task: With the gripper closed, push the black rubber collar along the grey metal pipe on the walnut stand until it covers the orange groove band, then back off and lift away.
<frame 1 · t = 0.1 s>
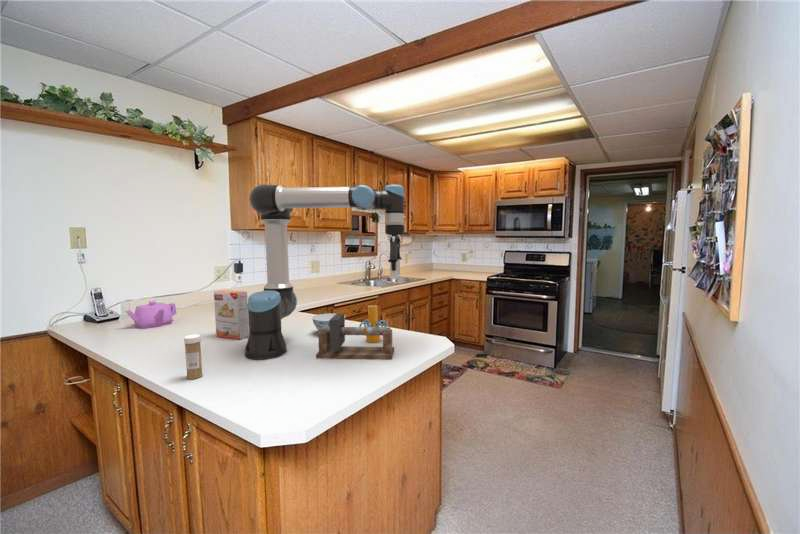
hand: (395, 277, 146), 28 cm above the worktop, tool pointing down, fingers open, 13 cm apart
collar: (337, 330, 136), point 9 cm above the worktop, slide at 0.0 cm
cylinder: (373, 341, 154), on the worktop
pipe stand: (356, 354, 137), on the worktop
teakettle: (153, 325, 185), on the worktop
cracker box: (232, 337, 162), on the worktop
chinaware: (329, 333, 167), on the worktop
sprinkles bottle: (194, 377, 116), on the worktop
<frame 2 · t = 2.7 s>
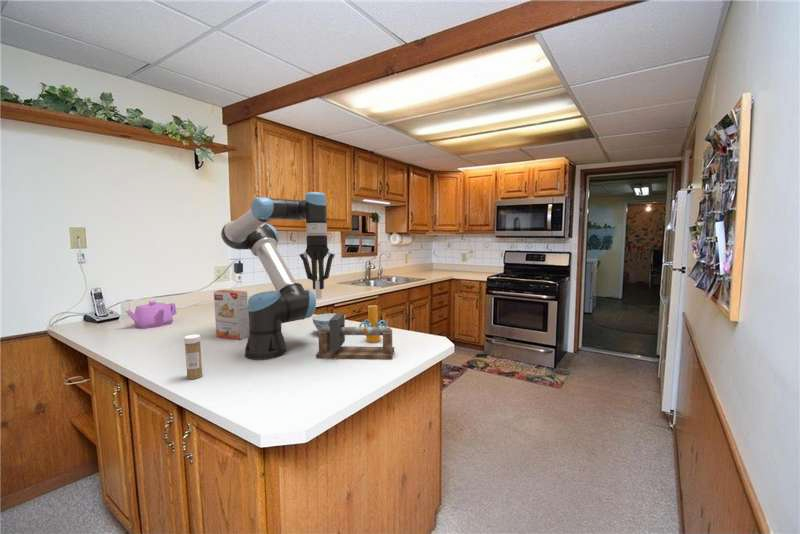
hand: (318, 297, 136), 22 cm above the worktop, tool pointing down, fingers closed
nothing on the worktop moved.
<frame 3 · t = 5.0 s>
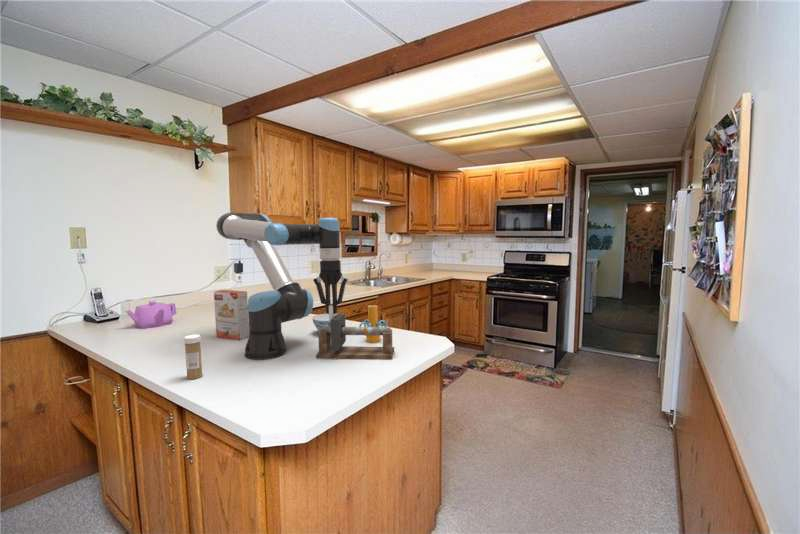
hand: (332, 322, 136), 12 cm above the worktop, tool pointing down, fingers closed
collar: (338, 330, 136), point 9 cm above the worktop, slide at 0.4 cm, touching gripper
everything else where it was.
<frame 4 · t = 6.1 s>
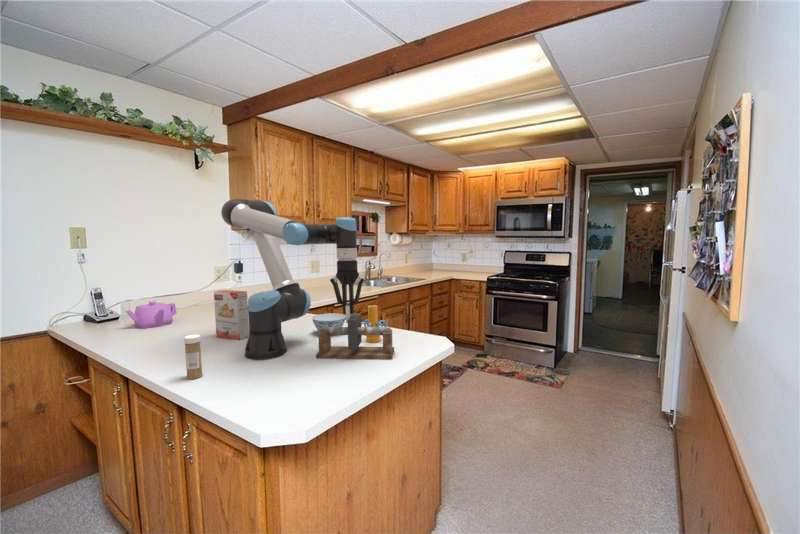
hand: (348, 322, 136), 12 cm above the worktop, tool pointing down, fingers closed
collar: (354, 331, 136), point 9 cm above the worktop, slide at 6.7 cm, touching gripper
everything else where it was.
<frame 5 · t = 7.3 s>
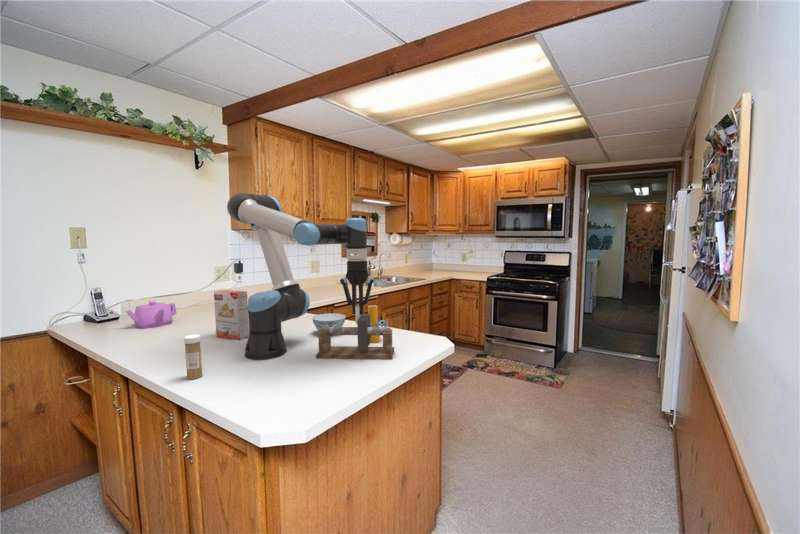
hand: (358, 322, 135), 12 cm above the worktop, tool pointing down, fingers closed
collar: (364, 331, 136), point 9 cm above the worktop, slide at 10.2 cm, touching gripper
everything else where it was.
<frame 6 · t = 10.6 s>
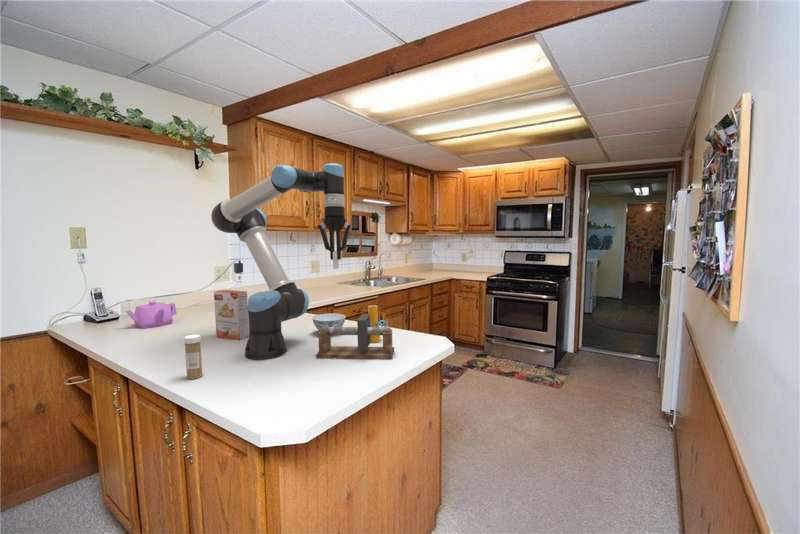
hand: (336, 268, 138), 32 cm above the worktop, tool pointing down, fingers closed
collar: (364, 331, 136), point 9 cm above the worktop, slide at 10.2 cm
everything else where it was.
at the end: collar slide at 10.2 cm; collar moved 10.2 cm from its start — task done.
